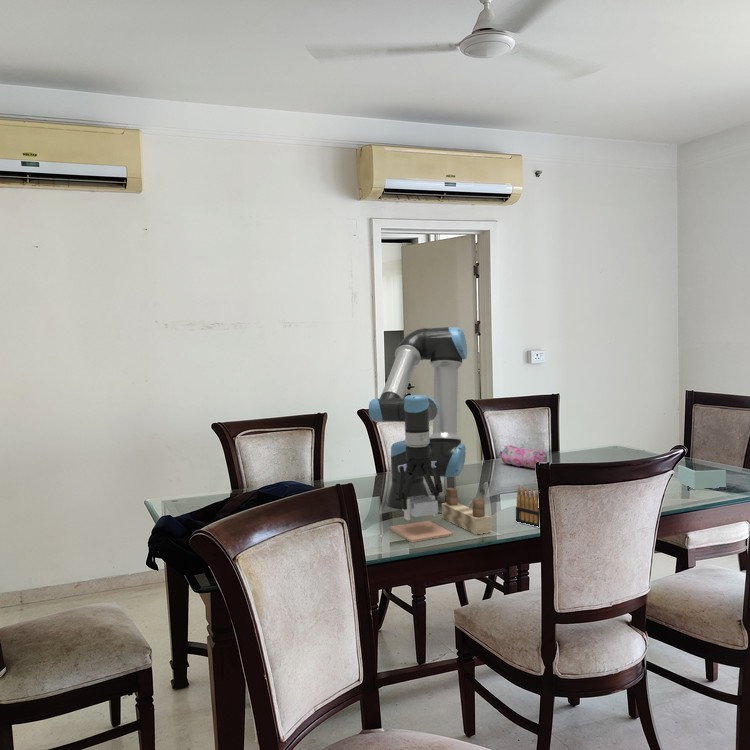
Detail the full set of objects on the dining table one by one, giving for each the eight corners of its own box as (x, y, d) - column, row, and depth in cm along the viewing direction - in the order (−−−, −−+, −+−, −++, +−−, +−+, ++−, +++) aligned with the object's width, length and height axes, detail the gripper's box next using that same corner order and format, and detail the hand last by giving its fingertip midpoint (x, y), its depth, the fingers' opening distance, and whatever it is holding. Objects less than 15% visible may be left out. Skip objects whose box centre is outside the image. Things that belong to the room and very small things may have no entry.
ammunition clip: (515, 522, 222) (514, 485, 221) (519, 521, 223) (518, 484, 222) (542, 529, 213) (541, 490, 212) (546, 527, 214) (545, 489, 214)
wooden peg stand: (442, 518, 230) (441, 488, 229) (455, 516, 231) (454, 486, 231) (476, 535, 209) (475, 502, 209) (490, 532, 211) (489, 500, 210)
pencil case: (498, 465, 315) (498, 445, 314) (512, 462, 320) (512, 443, 320) (534, 471, 298) (534, 451, 297) (548, 468, 303) (548, 448, 302)
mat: (389, 529, 219) (389, 526, 219) (428, 522, 224) (428, 520, 224) (411, 542, 204) (411, 540, 204) (452, 535, 210) (452, 533, 209)
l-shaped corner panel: (726, 490, 253) (726, 470, 253) (694, 491, 252) (694, 471, 252) (708, 483, 265) (708, 464, 265) (678, 484, 264) (678, 465, 264)
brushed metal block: (402, 510, 216) (401, 497, 216) (424, 507, 219) (424, 494, 219) (414, 517, 208) (414, 504, 208) (438, 513, 211) (437, 500, 211)
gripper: (391, 450, 205) (394, 525, 206) (453, 443, 213) (455, 515, 214) (381, 446, 212) (384, 519, 213) (441, 440, 220) (443, 510, 221)
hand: (420, 517), depth 214 cm, fingers closed on brushed metal block, 8 cm apart
